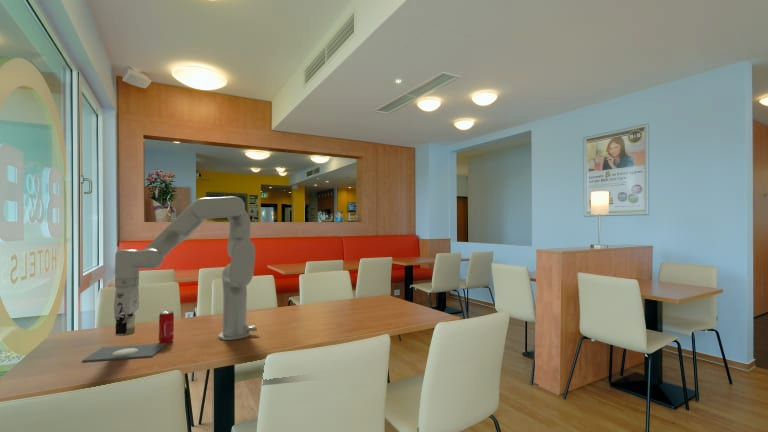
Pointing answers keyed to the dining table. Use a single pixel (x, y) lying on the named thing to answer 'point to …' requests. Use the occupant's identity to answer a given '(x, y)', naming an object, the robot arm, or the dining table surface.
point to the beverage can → (166, 327)
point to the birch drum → (128, 326)
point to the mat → (124, 352)
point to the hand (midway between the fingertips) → (125, 330)
